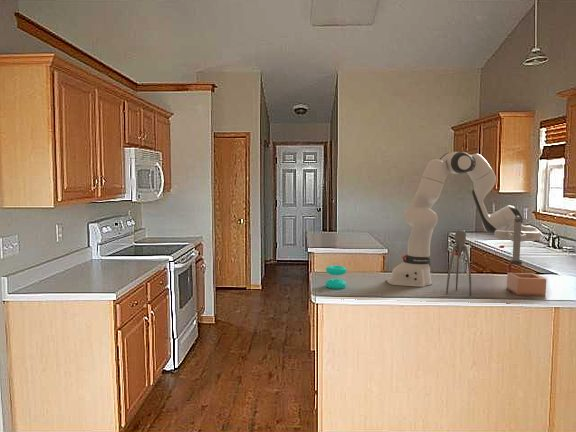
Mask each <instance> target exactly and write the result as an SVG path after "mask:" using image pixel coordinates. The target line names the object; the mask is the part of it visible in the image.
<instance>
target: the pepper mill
mask: <svg viewBox="0 0 576 432" xmlns="http://www.w3.org/2000/svg"><path fill="white" fill-rule="evenodd" d="M520 239H521V217H520V216H516V217H515V218H514V238H513V241H512V258H511V259H509V265H515V266H522V265H523V261H522V259H520V258H521V254H520V253H521V242H520Z"/></svg>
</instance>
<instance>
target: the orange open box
mask: <svg viewBox="0 0 576 432" xmlns="http://www.w3.org/2000/svg"><path fill="white" fill-rule="evenodd" d="M506 290H508V291H509V292H511V293H512V294H514V295H516V296H525V297H526V296H527V297H529V296H530V297H531V296H532V297H546V293H547V291H546V290H547V278H545V277H543V276H541V275H539V274H536V273H535V272H534V273H533V272H532V273H530V272H507V276H506Z"/></svg>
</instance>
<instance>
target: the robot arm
mask: <svg viewBox="0 0 576 432" xmlns="http://www.w3.org/2000/svg"><path fill="white" fill-rule="evenodd" d="M449 174H453V175H460V174H461V175H462V174H467V175H468V176H469V178H470V180H471V181H472V183H473V188H472V190H471V193H472V194H471V195H472V197H473V200H474V203H475V206H476V208H477V212H478V213H479V215H480V219H481V223H482V227H483V229H484V230H485V232H486V233H487V234H490V235H494V238H495V239H506V240H507V239H509V240H510V241H511V242H513V238H514V218H515V217H516V216H520V217H521V239H520V243H523V242H535V241H540V240H541V232H540V230H538V229H537V228H536V227H533V226H527V225H524V224H523V223H524V219H523V217H522V214H521V213H520V211H519V210H518V208H516V207H515V206H513V205H510V204H508V205H506V206H504V207H502V208H500V209H499V210H496V211H494V212H492V213H490V214H489V213H488V211H487V208H486V205H485V203H484V200H485V198H486V196H487V195H488V194H489V193H490V192H491V190H492V189H493V188H494V187H495V185H496V182H497V177H496V174H495V171H494V169H493V168H492V166H491V165H490V163H488V161H487V160H486V159H485V158H484V157H483V156H482V155H481V154H479V153H473V154H469V153H467V152H464V151H452V152H447V153H445V154H444V155H442V156H441V157H440V158H439V159H438V158H435V159H431V160H430V161H429V162H428V164H427V166H426V168H425V169H424V171H423V174H422V176H421V178H420V179H421V180H420V183H419V184H418V188H417V190H416V193H415V195H414V196H413V199H412V200H411V201H410V204H409V205H408V207H407V208H405V209H404V212H403V220H404V221H405V223H406V224H407V225H409V226H410V227H412V229H411V232H410V235H409V237H408V240H407V254H406V255H405V254H402V255H400V256H401V259H403V260H402V262H401V263H400V264H398V265H397V266H395V267H394V268H393V269H392V270H391V276H389V277H387V278H386V282H387V284H389V285H392V286H403V287H420V288H423V287H426V286H431V285H432V284H433V282H432V277H431V264H432V263H431V262H432V259H431V257H432V256H431V242H432V241H431V240H432V237H433V232H434V229H435V227H436V226H437V225H438V222H439V217H438V214H437V213H436V211H434V210H433V209H432V208H433V206H434V204H435V203H436V202H437V201H438V200H439V199H440V196H441V193H442V189H443V188H444V184H445V182H446V181H445V180H446V178H447V177H448V176H449Z"/></svg>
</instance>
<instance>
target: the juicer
mask: <svg viewBox="0 0 576 432" xmlns="http://www.w3.org/2000/svg"><path fill="white" fill-rule="evenodd" d="M466 240H467V234H466V231H465V230H462V229H458V230H456V231H455V233H454V242H455V243H454V244H455V245H454V246H453V249H452V252H451V256H450V259H449V260H450V261H449V266H448V270H447V271H448V273H447V277H446V278H447V280H446V290H445V292H446V293H445V295H448V294H449V284H450V277H451V271H452V266H453V262H454V261H453V260H454V256H455V253H456V252H457V258H456V273H455V291H456V292H457V291H458V285H459V284H458V283H459V270H460V269H459V267H460V257H461V255H462V253H463V252H464V253H465V257H466V263H467V272H468V281H469V282H468V285H469V296H470V297H471V296H472V273H471V271H472V270H471V263H470V257H469V251H468V247H467V246H465V245H466Z"/></svg>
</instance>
